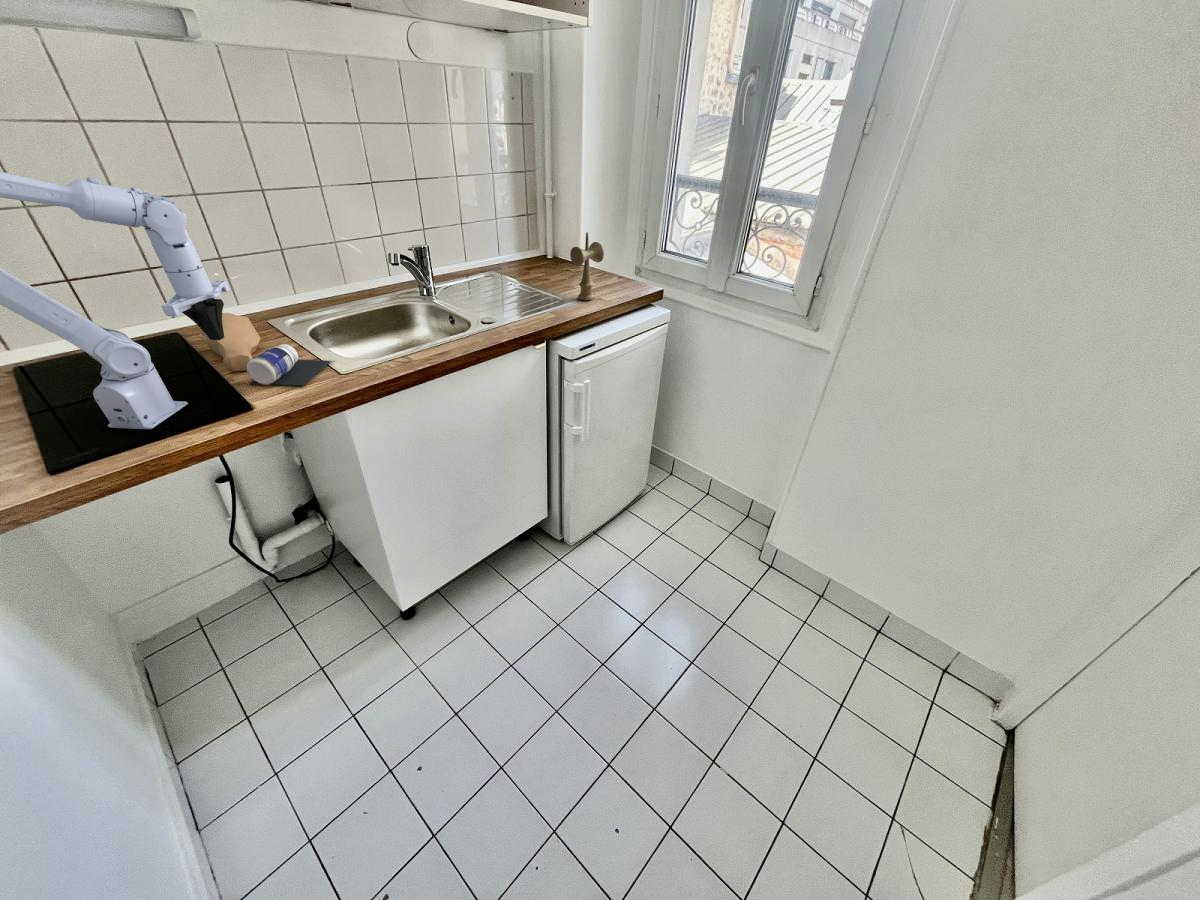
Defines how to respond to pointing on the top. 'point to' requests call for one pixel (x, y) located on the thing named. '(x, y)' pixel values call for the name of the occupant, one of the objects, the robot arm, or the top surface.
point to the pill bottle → (272, 364)
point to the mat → (299, 373)
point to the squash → (235, 341)
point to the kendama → (586, 265)
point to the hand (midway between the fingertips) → (217, 338)
